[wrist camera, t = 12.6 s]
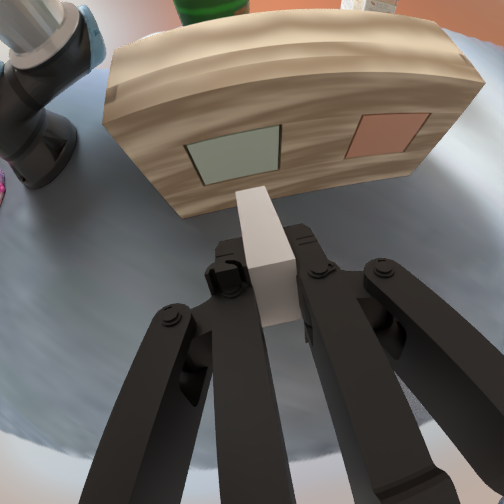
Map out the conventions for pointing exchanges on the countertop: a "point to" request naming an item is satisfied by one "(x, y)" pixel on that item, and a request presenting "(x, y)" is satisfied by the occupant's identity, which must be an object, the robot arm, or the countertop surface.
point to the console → (283, 97)
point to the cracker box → (370, 5)
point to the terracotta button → (384, 133)
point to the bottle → (209, 10)
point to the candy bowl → (1, 186)
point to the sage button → (236, 154)
